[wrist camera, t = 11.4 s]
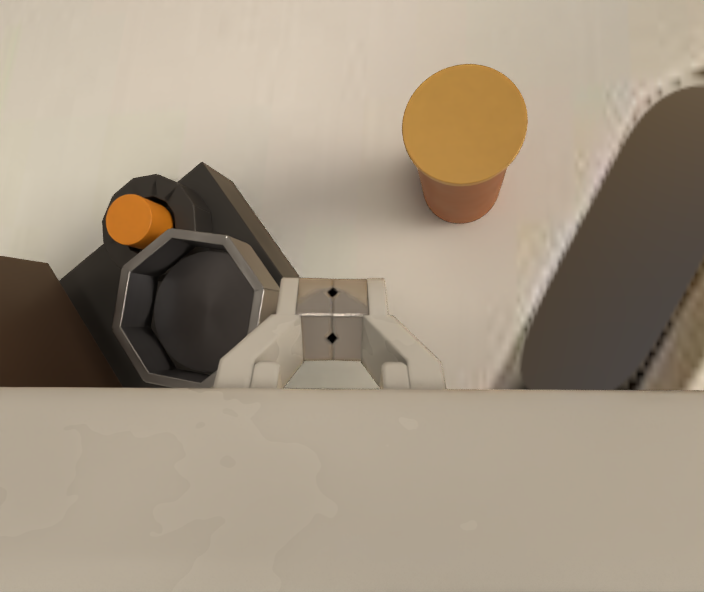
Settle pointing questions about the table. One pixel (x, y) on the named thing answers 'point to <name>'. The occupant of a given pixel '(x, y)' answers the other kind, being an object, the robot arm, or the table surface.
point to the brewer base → (188, 214)
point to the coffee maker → (137, 315)
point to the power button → (137, 221)
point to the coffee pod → (464, 138)
